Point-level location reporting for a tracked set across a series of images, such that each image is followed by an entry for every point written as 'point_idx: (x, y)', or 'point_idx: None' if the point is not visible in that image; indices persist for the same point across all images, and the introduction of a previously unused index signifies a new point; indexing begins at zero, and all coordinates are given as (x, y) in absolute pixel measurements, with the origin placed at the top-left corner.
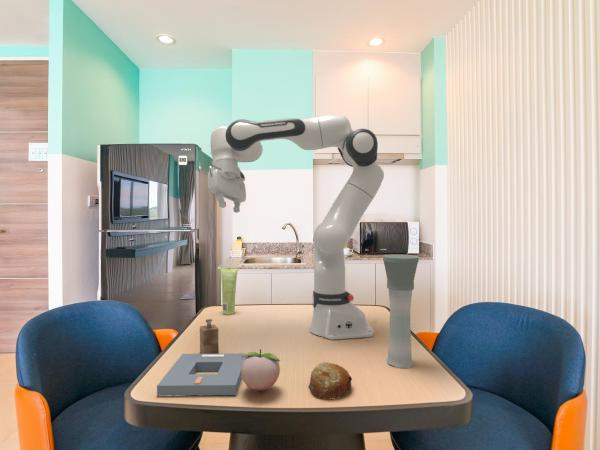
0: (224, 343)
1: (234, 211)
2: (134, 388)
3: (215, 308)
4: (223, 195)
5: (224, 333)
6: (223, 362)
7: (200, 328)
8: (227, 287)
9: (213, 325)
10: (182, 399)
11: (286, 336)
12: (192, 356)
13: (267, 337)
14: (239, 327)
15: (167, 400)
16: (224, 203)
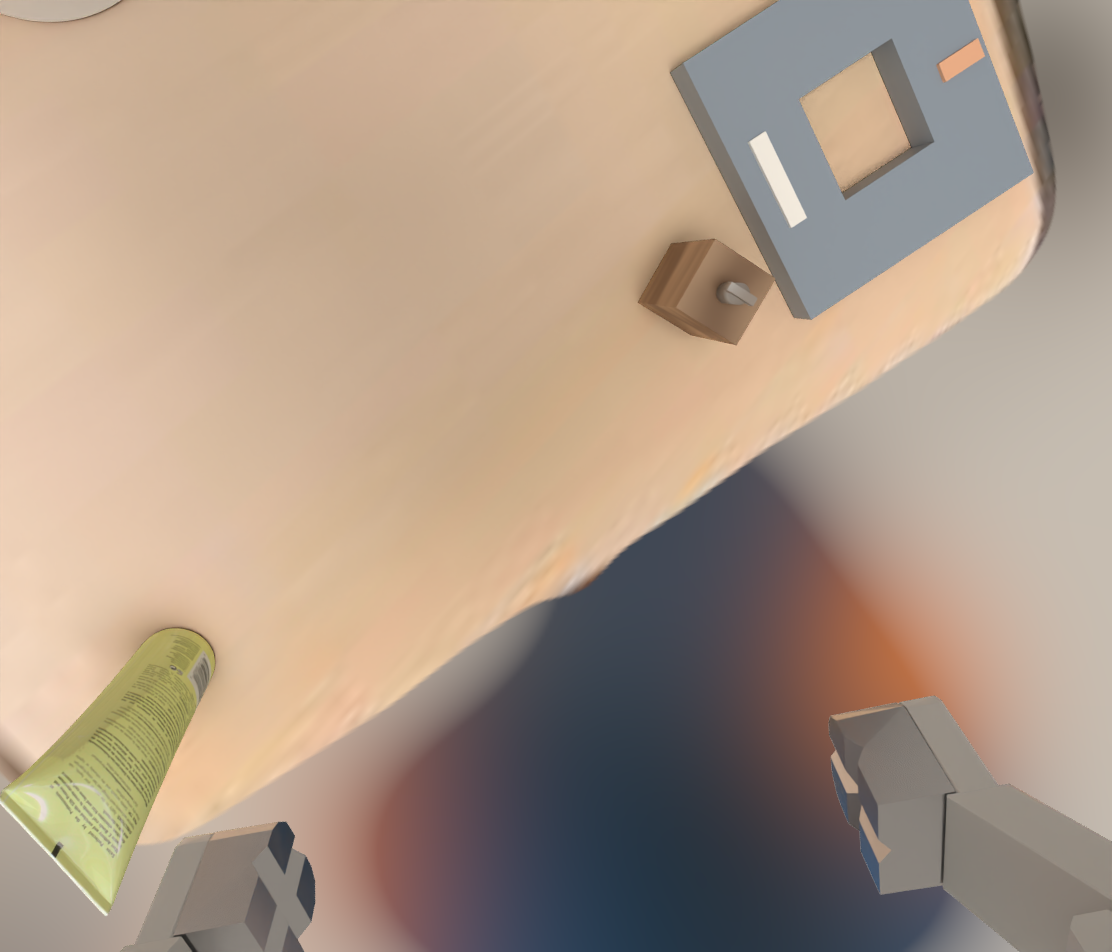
0: (555, 321)
1: (310, 876)
2: (997, 291)
3: None
4: (1091, 927)
5: (453, 423)
6: (802, 92)
7: (742, 331)
8: (149, 739)
9: (693, 296)
10: None
11: (292, 88)
12: (812, 260)
13: (369, 179)
14: (335, 423)
15: None
16: (928, 742)
